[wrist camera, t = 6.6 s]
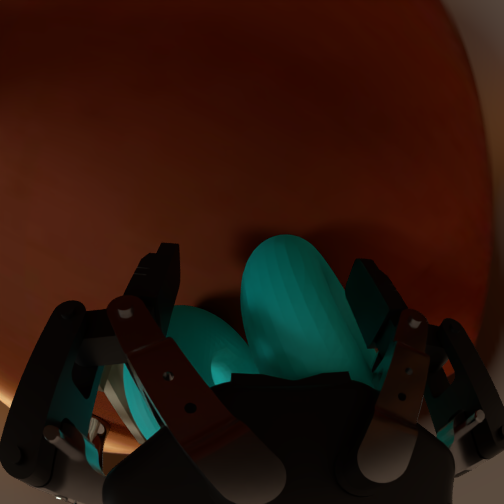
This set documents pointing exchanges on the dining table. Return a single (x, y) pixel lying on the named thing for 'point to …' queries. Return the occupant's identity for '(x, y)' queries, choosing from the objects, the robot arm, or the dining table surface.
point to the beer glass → (95, 443)
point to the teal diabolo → (271, 326)
